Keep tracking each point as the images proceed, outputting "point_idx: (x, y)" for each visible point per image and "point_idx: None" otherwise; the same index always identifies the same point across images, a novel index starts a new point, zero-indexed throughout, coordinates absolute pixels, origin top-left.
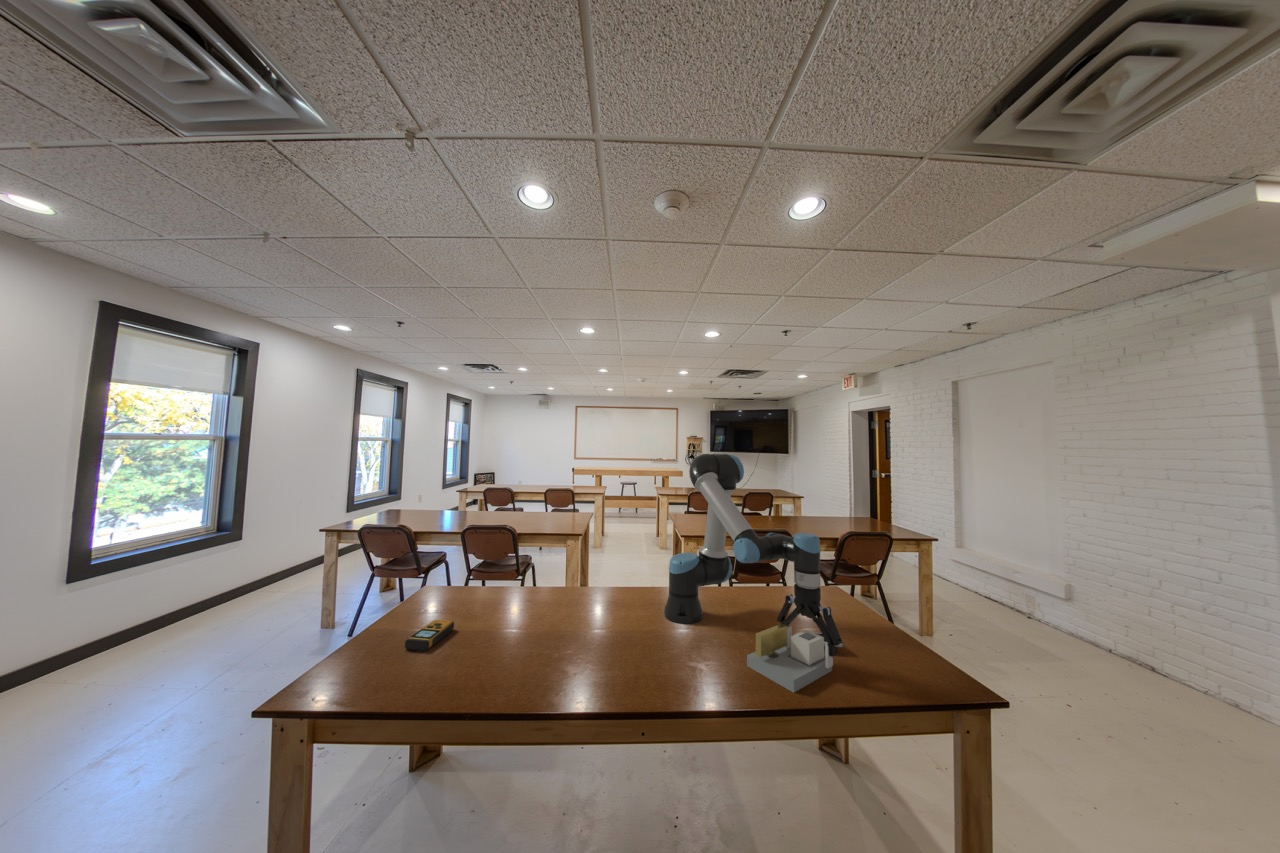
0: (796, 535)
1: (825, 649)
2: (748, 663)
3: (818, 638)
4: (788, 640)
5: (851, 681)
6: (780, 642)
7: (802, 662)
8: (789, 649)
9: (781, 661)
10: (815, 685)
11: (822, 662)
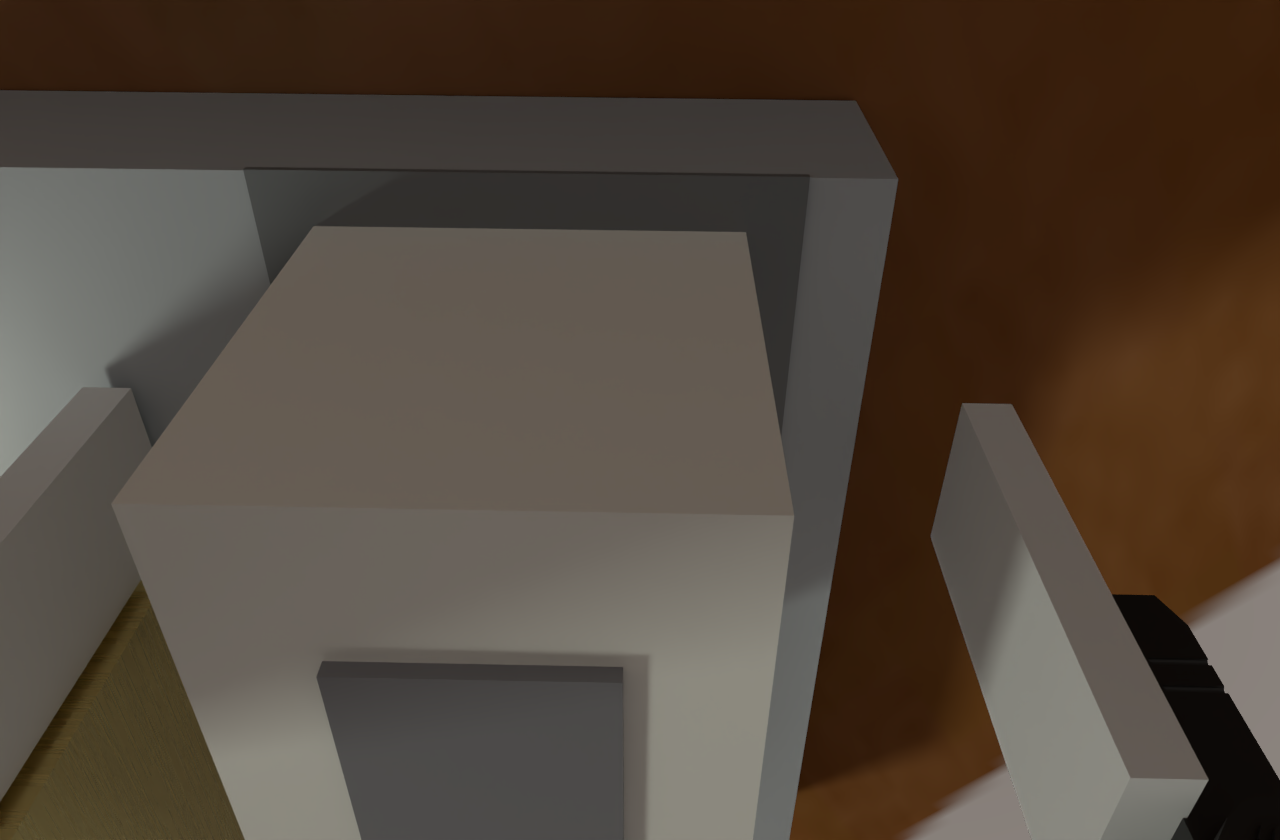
0: None
1: (1025, 802)
2: None
3: (725, 682)
4: (89, 580)
5: (1210, 101)
6: (179, 812)
7: None
8: None
9: None
10: (841, 577)
11: (811, 413)
